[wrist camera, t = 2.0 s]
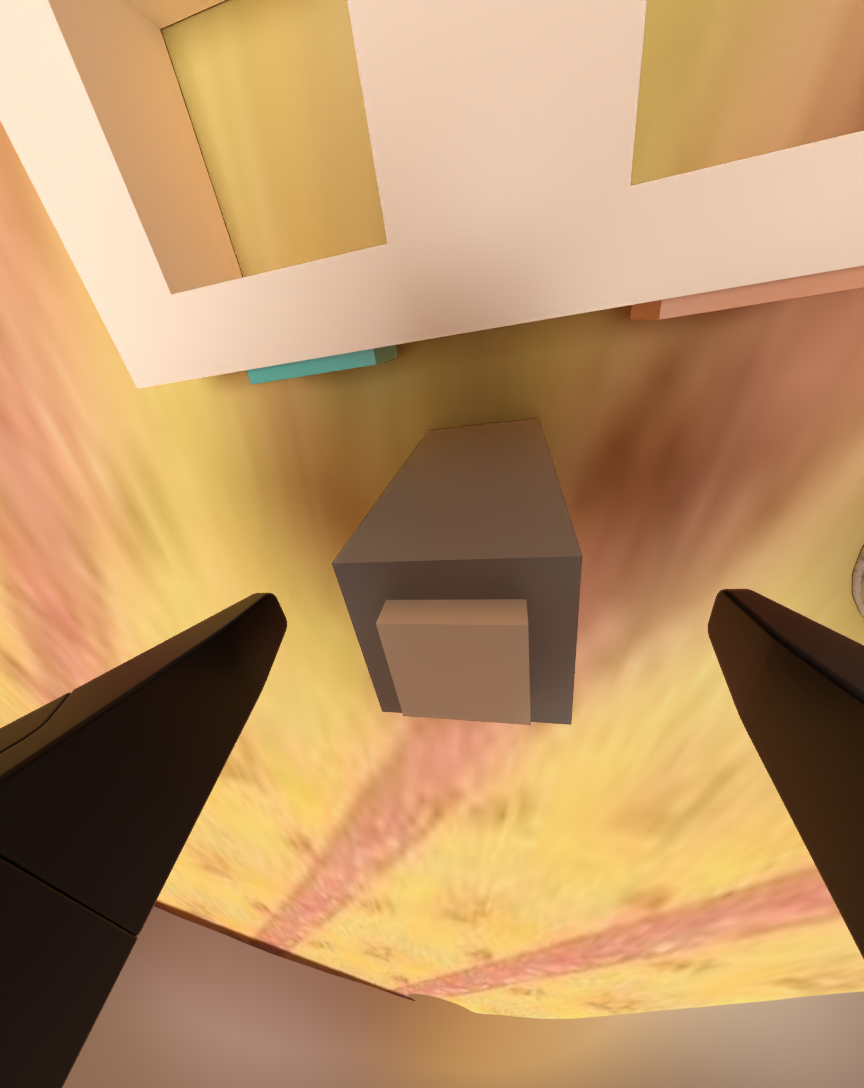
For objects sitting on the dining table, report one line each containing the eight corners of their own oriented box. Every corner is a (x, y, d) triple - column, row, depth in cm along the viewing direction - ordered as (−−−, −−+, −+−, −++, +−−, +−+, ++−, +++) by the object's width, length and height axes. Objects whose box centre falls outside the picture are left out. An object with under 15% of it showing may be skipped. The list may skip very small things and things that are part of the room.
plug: (538, 417, 13) (589, 581, 5) (539, 518, 15) (575, 754, 7) (428, 430, 14) (316, 584, 6) (442, 524, 16) (374, 737, 8)
